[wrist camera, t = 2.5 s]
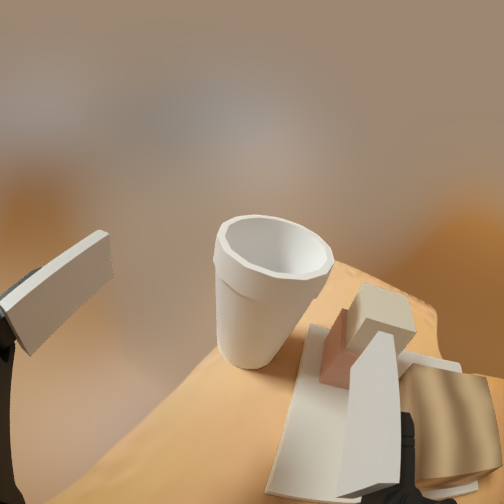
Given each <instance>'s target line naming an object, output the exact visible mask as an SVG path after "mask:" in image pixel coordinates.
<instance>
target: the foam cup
mask: <svg viewBox="0 0 504 504" xmlns="http://www.w3.org/2000/svg"><path fill="white" fill-rule="evenodd" d="M213 262H214V264H215V267H216V317H217V341H218V347H219V350H220V353H221V355H222V356H223V357H224V358H225V359H226V360H227V361H228V362H229V363H230V364H232V365H234V366H237V367H240V368H242V369H259V368H261V367H263V366H266V365H268V364H269V363H270V362H271V360H272V359H273V358H274V356H275V355H276V354H277V352H278V351H279V349H280V348H281V347H282V345H283V344H284V342H285V341H286V339H287V338H288V336H289V335H290V334H291V332H292V331H293V329H294V328H295V326H296V325H297V323H298V322H299V320H300V319H301V317H302V316H303V314H304V313H305V311H306V310H307V308H308V306H309V305H310V303H311V302H312V300H313V299H315V298H317V296H318V295H319V293H320V292H321V290H322V289H323V287H324V285H325V283H326V281H327V279H328V276H329V274H330V272H331V269H332V267H333V265H334V262H335V261H334V257H333V254H332V251H331V248H330V247H329V246H328V245H327V244H326V243H325V242H324V241H323V240H322V239H321V237H319V235H317V234H315V233H313V232H312V231H310V230H308V229H307V228H305V227H303V226H301V225H299V224H297V223H293V222H291V221H288V220H285V219H281V218H278V217H271V216H264V215H246V216H237V217H234V218H232V219H230V220H228V221H226V222H224V223H223V224H222V225H221V227H220V229H219V232H218V234H217V237H216V244H215V251H214V258H213Z"/></svg>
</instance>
